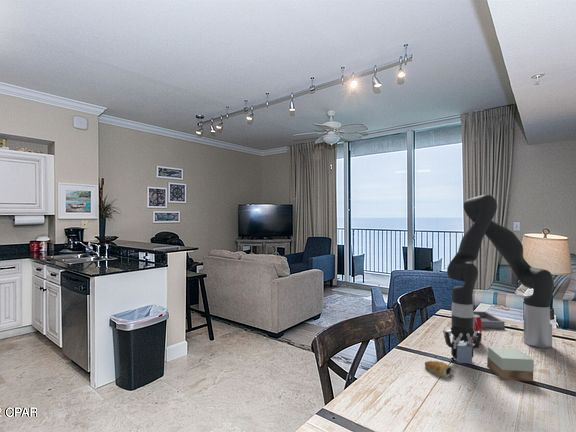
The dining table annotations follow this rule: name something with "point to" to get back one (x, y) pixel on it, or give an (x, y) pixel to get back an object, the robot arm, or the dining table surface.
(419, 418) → the dining table surface
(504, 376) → the tower base
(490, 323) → the tray
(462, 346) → the block
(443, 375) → the pastry
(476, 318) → the soda can
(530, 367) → the tower top
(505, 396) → the dining table surface
